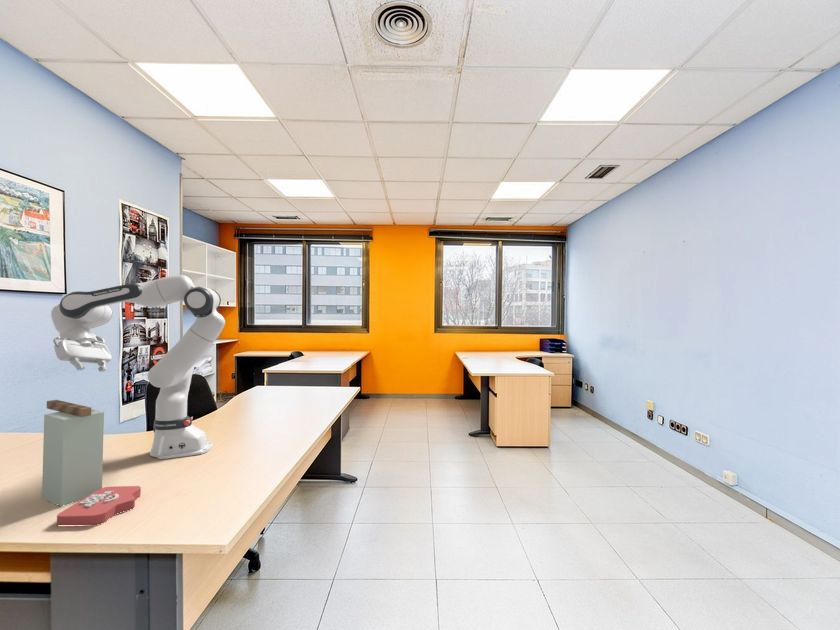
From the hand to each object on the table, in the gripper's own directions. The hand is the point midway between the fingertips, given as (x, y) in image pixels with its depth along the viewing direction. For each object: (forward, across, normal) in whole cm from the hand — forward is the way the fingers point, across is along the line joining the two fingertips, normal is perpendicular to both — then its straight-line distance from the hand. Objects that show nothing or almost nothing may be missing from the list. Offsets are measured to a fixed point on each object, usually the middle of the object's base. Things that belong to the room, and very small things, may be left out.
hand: (92, 370), depth 140 cm
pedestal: (+42, -16, +10) cm, 46 cm away
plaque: (+54, -23, -3) cm, 59 cm away
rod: (+19, -20, -2) cm, 27 cm away
